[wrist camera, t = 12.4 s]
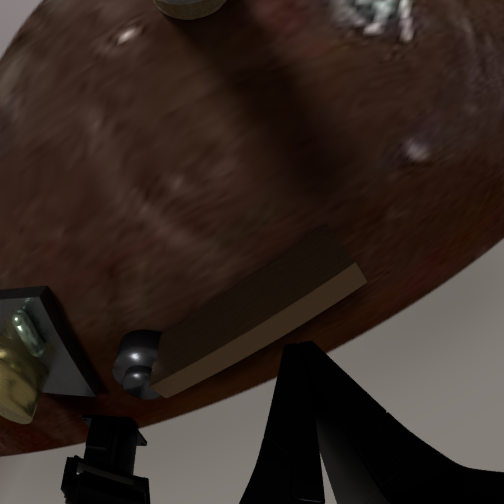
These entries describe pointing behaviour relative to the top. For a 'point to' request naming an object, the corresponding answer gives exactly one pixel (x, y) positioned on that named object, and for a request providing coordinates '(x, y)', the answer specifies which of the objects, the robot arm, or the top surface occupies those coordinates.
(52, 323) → the plate
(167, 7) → the sprinkles bottle
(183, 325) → the brown bar with knob
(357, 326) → the top surface
